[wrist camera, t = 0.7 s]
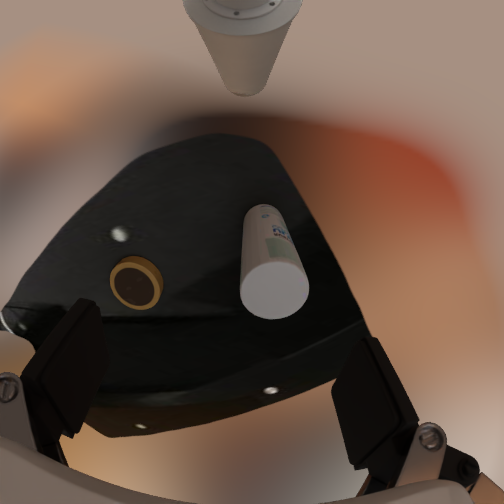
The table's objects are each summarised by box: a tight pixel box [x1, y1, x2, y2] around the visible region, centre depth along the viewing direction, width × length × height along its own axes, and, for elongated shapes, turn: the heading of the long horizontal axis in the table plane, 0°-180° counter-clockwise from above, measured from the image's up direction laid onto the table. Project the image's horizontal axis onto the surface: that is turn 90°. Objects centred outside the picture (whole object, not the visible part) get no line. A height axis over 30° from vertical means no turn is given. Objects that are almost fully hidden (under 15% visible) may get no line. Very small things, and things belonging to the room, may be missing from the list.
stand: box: [110, 256, 163, 310], centre depth 46 cm, size 10×10×3 cm
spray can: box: [240, 204, 309, 319], centre depth 34 cm, size 6×6×20 cm
